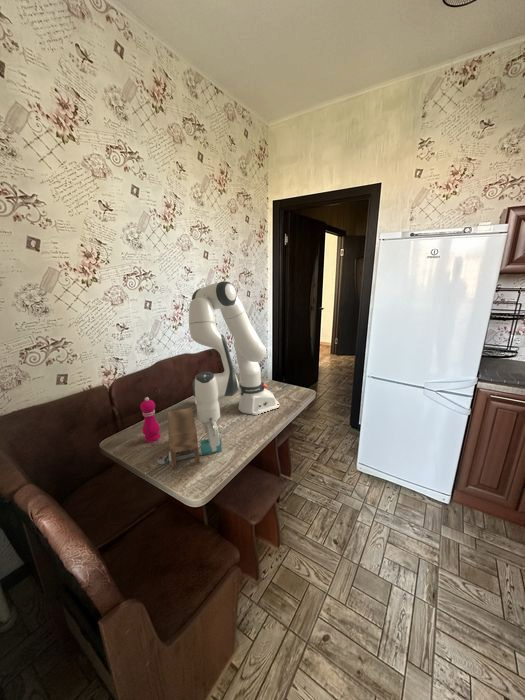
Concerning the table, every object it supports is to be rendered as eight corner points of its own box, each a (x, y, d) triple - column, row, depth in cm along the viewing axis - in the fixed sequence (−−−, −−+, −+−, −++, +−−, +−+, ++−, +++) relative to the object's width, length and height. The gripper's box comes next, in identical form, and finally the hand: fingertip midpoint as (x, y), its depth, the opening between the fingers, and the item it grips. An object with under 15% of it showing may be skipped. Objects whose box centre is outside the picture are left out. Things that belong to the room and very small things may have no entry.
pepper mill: (150, 444, 120) (144, 402, 115) (140, 440, 124) (133, 398, 119) (164, 436, 126) (159, 395, 121) (154, 432, 130) (148, 392, 124)
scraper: (219, 445, 119) (219, 434, 117) (222, 453, 113) (221, 442, 112) (169, 455, 112) (168, 445, 111) (169, 465, 107) (168, 453, 106)
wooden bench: (194, 435, 126) (191, 407, 122) (199, 463, 107) (196, 430, 104) (171, 440, 123) (167, 411, 119) (172, 469, 104) (168, 436, 101)
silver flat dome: (169, 457, 112) (169, 454, 112) (169, 464, 108) (169, 461, 107) (157, 459, 111) (157, 457, 110) (157, 466, 106) (156, 464, 106)
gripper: (222, 424, 101) (224, 456, 105) (212, 401, 120) (214, 429, 124) (204, 428, 99) (208, 461, 103) (197, 404, 118) (200, 432, 122)
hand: (211, 443), depth 114 cm, fingers open, 8 cm apart
